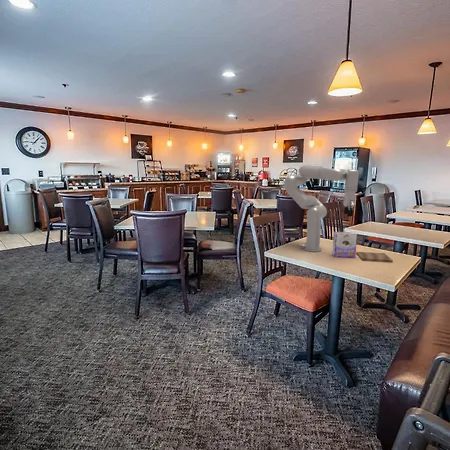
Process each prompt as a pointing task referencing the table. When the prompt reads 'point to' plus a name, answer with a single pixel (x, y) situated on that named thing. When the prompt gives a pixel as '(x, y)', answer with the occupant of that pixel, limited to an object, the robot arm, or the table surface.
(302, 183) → the robot arm
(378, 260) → the serving board
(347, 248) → the candy box
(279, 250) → the table surface
